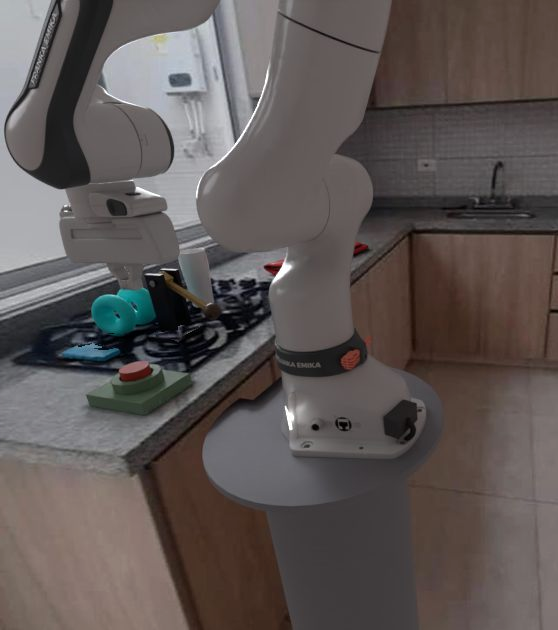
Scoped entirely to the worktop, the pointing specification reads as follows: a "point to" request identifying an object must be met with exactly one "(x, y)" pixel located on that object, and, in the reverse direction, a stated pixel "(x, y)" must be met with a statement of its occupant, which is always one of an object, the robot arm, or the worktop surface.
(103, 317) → the turquoise double disc spool
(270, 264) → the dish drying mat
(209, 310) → the lever
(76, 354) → the sponge
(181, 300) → the bracket
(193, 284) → the drinking glass
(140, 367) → the button
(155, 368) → the button box
